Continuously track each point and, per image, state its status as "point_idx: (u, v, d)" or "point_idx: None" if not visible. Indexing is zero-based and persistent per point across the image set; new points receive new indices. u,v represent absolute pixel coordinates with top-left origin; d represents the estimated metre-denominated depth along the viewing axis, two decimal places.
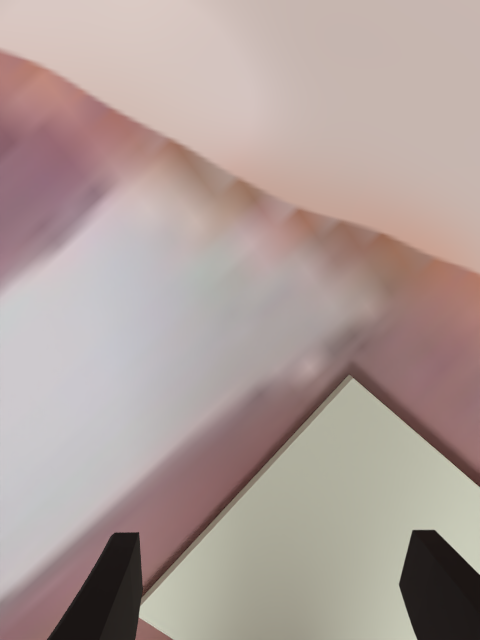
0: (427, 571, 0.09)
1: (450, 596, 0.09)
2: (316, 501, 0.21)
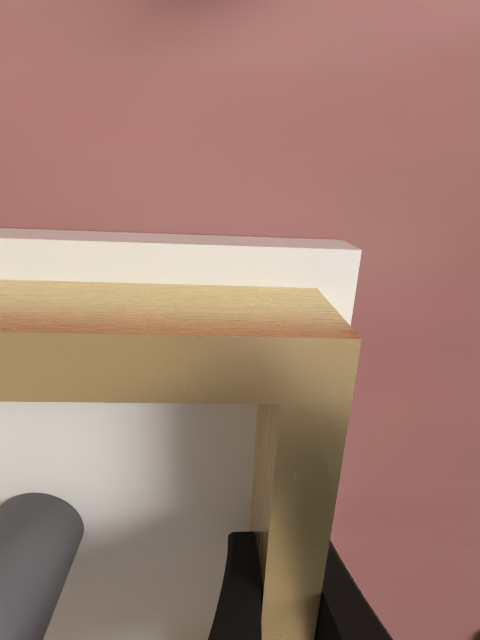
0: None
1: None
2: None
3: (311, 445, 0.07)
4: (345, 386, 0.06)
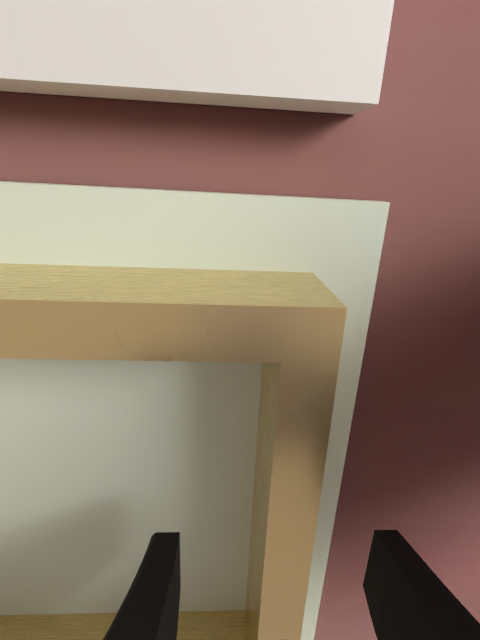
0: (386, 572, 0.09)
1: (405, 597, 0.09)
2: (1, 609, 0.14)
3: (306, 398, 0.08)
4: (334, 347, 0.08)
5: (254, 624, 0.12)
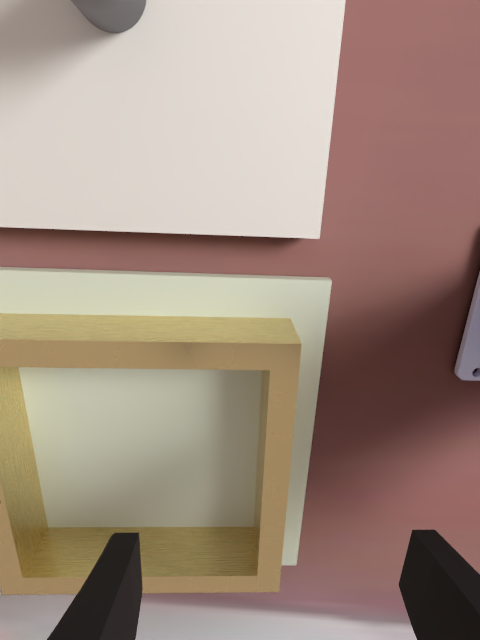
0: (427, 571, 0.09)
1: (450, 596, 0.09)
2: (99, 523, 0.22)
3: (283, 387, 0.16)
4: (296, 362, 0.16)
5: (258, 522, 0.20)
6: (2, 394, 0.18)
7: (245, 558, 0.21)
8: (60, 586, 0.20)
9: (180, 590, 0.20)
